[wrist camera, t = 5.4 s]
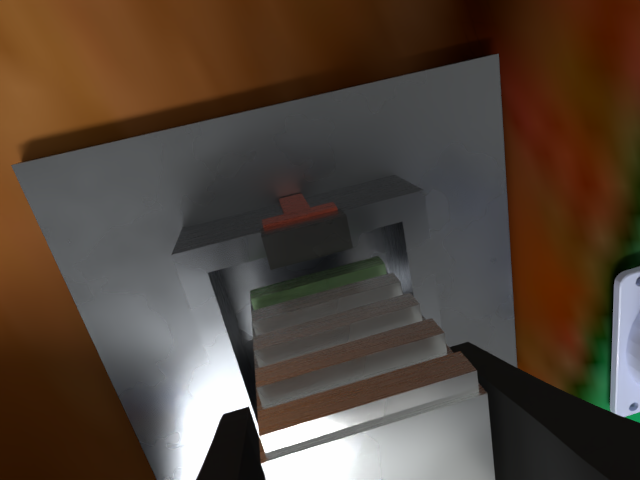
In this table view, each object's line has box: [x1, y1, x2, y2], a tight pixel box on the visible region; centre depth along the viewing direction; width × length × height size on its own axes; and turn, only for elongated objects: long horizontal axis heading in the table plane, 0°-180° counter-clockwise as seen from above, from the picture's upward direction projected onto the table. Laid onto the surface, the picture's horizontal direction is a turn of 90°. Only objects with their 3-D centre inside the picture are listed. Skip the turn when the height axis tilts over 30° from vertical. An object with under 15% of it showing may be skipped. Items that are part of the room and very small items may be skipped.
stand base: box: [11, 54, 517, 480], centre depth 15 cm, size 16×14×4 cm
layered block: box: [250, 256, 495, 480], centre depth 11 cm, size 4×4×6 cm
